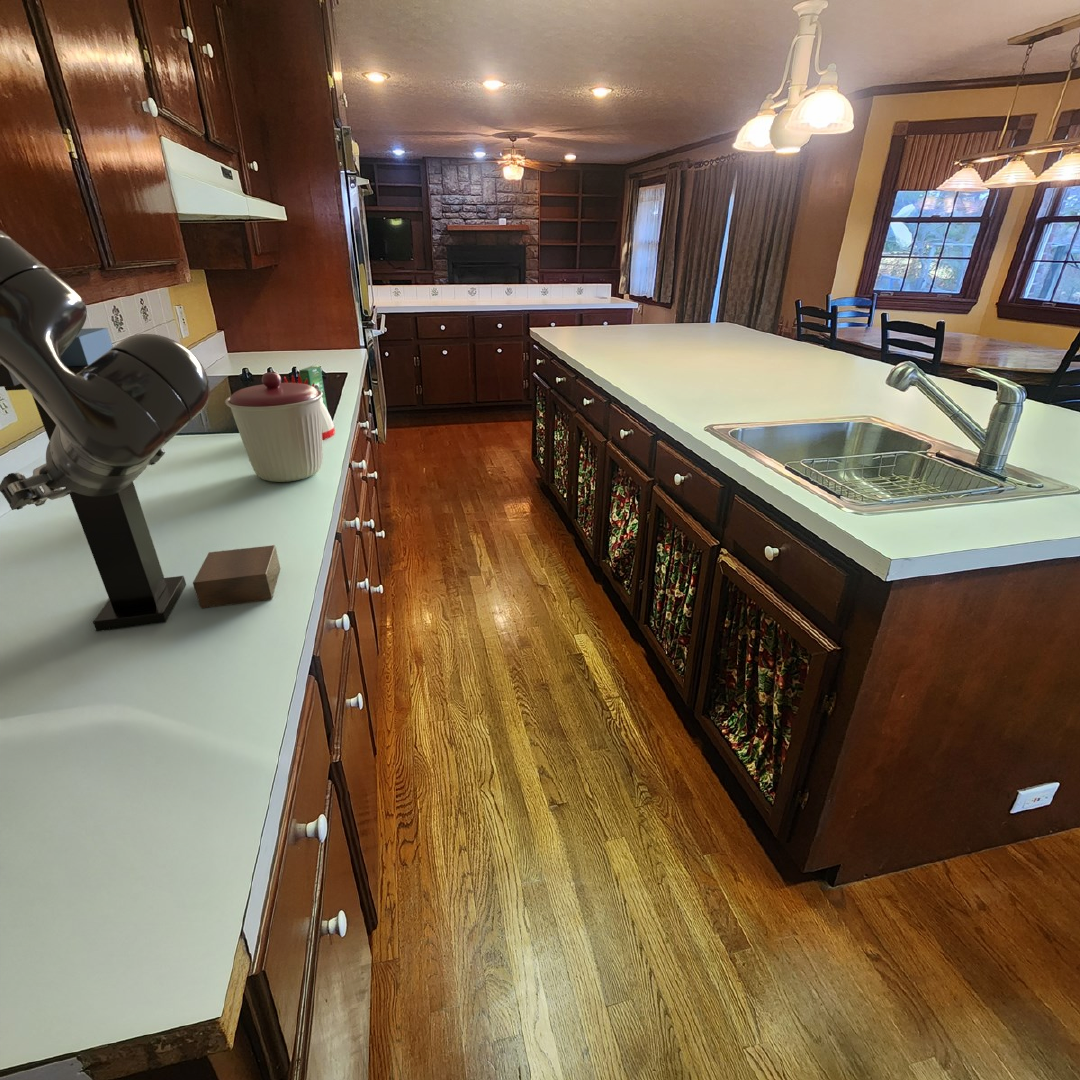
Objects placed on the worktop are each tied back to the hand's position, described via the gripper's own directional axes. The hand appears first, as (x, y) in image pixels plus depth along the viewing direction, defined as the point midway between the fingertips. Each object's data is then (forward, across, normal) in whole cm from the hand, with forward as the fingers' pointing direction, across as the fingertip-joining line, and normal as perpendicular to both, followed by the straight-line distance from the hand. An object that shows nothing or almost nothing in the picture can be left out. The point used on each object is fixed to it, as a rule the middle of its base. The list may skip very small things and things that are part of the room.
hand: (77, 482), depth 69 cm
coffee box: (+78, -74, -8) cm, 108 cm away
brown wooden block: (+6, -12, +20) cm, 24 cm away
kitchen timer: (+63, -61, -2) cm, 88 cm away
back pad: (-5, -2, -11) cm, 13 cm away
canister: (+41, -42, +6) cm, 59 cm away
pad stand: (+11, -1, +16) cm, 20 cm away
